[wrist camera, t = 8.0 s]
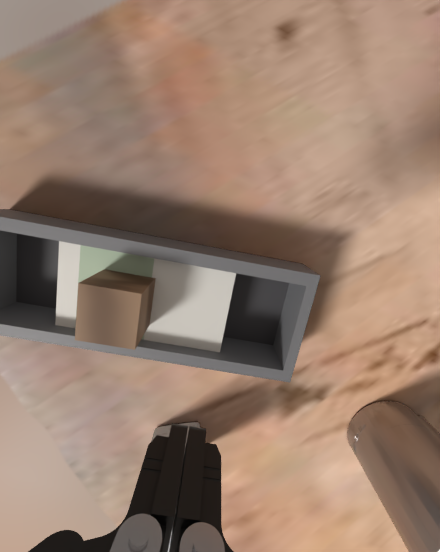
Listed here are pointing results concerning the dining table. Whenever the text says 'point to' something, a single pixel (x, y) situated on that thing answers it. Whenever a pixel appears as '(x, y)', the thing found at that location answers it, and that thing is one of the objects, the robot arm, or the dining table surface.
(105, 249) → the box
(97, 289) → the walnut block
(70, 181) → the dining table surface
